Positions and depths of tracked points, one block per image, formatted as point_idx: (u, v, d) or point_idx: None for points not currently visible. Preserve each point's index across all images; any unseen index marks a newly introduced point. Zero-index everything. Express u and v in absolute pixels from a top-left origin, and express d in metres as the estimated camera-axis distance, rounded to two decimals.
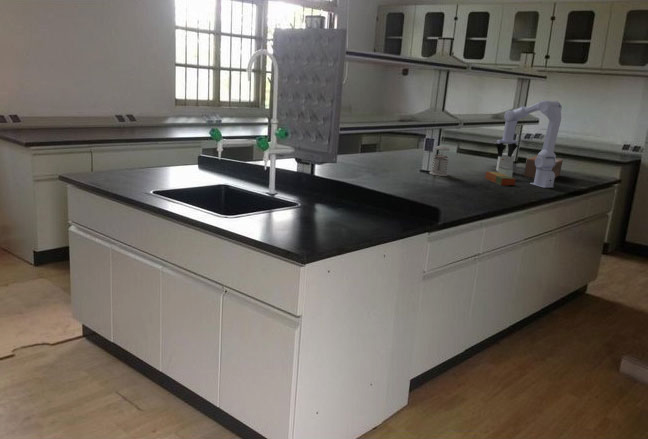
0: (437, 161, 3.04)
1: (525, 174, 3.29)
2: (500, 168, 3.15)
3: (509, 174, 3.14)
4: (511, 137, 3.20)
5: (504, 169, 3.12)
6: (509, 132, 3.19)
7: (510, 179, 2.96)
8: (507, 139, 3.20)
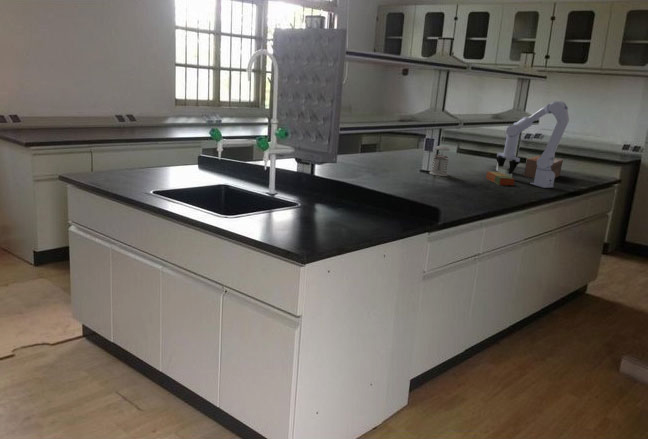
0: (437, 161, 3.04)
1: (525, 174, 3.29)
2: (500, 168, 3.15)
3: (509, 174, 3.14)
4: (504, 151, 3.11)
5: (504, 169, 3.12)
6: (512, 147, 3.09)
7: (509, 179, 2.96)
8: (503, 153, 3.13)
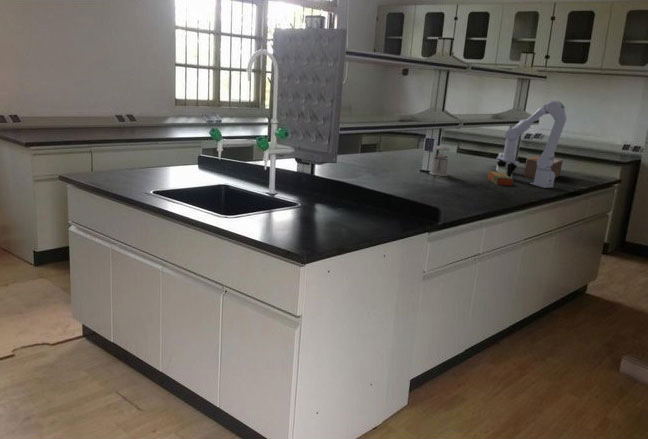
0: (437, 161, 3.04)
1: (525, 174, 3.29)
2: (500, 168, 3.15)
3: None
4: (504, 155, 3.12)
5: (504, 169, 3.12)
6: (512, 151, 3.09)
7: (507, 179, 2.95)
8: None
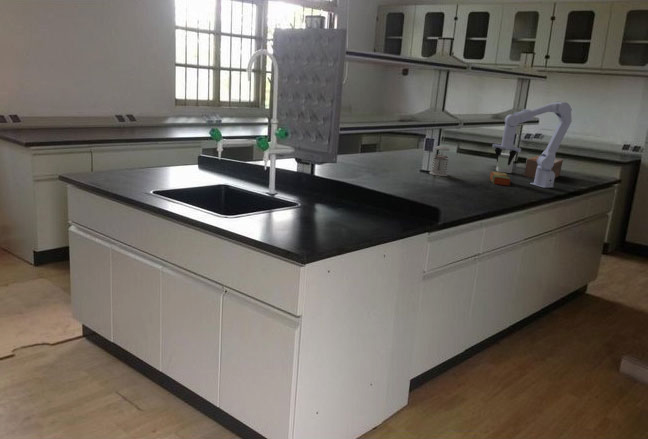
0: (437, 161, 3.04)
1: (525, 174, 3.29)
2: (500, 157, 3.02)
3: None
4: (504, 142, 2.98)
5: (505, 158, 3.00)
6: (513, 138, 2.98)
7: (504, 179, 2.95)
8: (501, 144, 3.00)
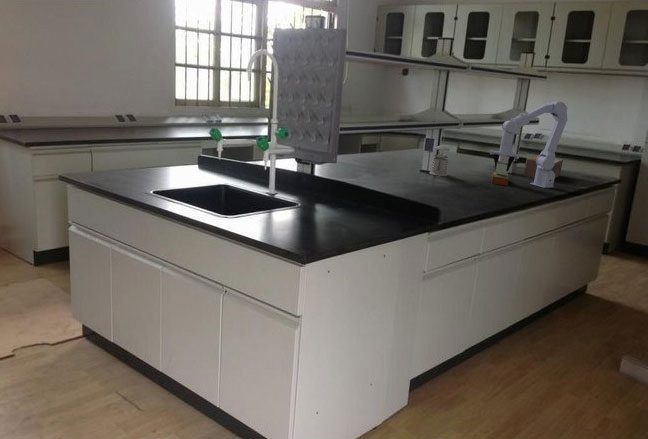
0: (437, 161, 3.04)
1: (525, 174, 3.29)
2: (498, 164, 3.00)
3: None
4: (503, 149, 2.97)
5: (504, 164, 2.99)
6: (511, 144, 2.96)
7: (502, 178, 2.95)
8: (500, 150, 2.99)
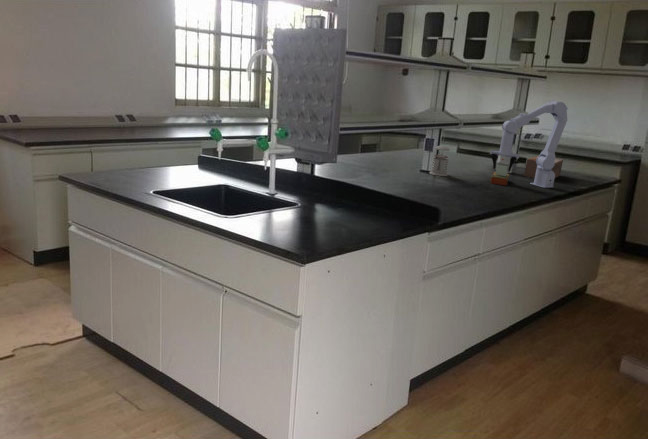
0: (437, 161, 3.04)
1: (525, 174, 3.29)
2: (499, 165, 3.00)
3: (507, 170, 3.01)
4: (503, 149, 2.97)
5: (504, 166, 2.99)
6: (511, 144, 2.96)
7: (501, 178, 2.95)
8: (500, 150, 2.99)
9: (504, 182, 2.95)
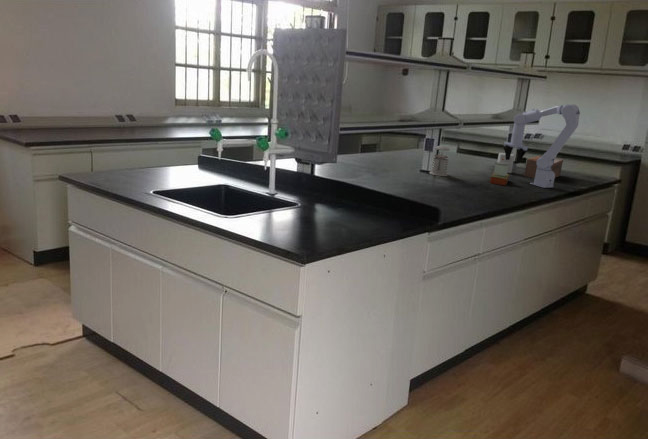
0: (437, 161, 3.04)
1: (525, 174, 3.29)
2: (497, 164, 3.00)
3: (506, 170, 3.01)
4: (512, 140, 3.08)
5: (502, 165, 2.99)
6: (520, 136, 3.06)
7: (500, 178, 2.96)
8: None
9: (503, 182, 2.95)
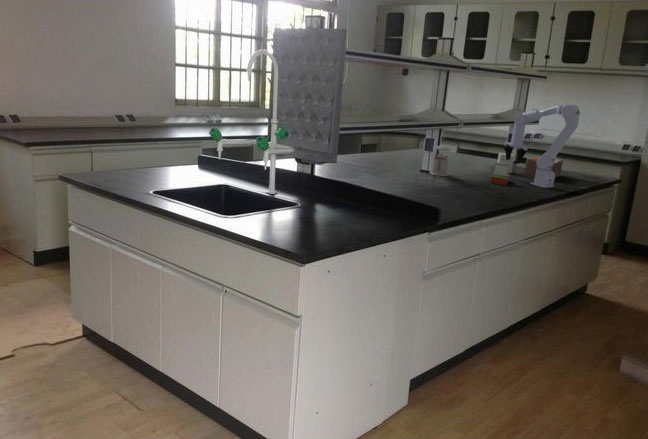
0: (437, 161, 3.04)
1: (525, 174, 3.29)
2: (497, 165, 3.00)
3: (506, 170, 3.01)
4: (512, 140, 3.09)
5: (502, 166, 2.98)
6: (520, 136, 3.06)
7: (501, 178, 2.96)
8: (511, 142, 3.11)
9: (504, 182, 2.95)
